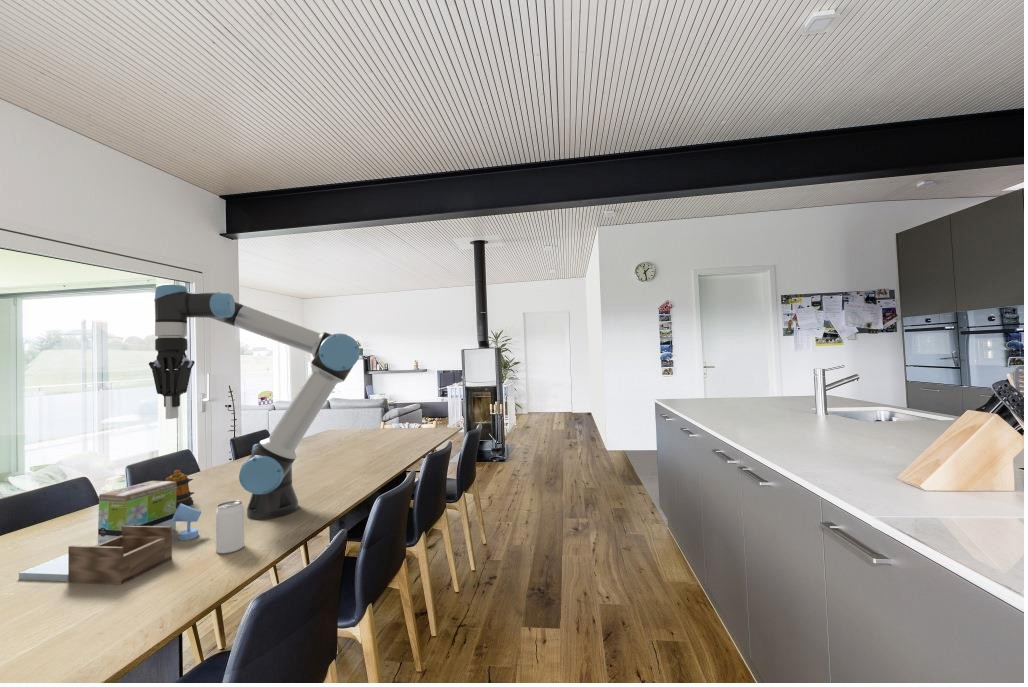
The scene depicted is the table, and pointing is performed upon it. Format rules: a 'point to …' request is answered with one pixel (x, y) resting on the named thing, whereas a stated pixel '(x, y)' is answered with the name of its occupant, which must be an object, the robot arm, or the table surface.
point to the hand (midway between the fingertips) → (172, 418)
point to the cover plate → (48, 570)
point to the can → (229, 527)
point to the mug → (181, 488)
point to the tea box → (136, 508)
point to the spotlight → (187, 520)
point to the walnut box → (121, 556)
